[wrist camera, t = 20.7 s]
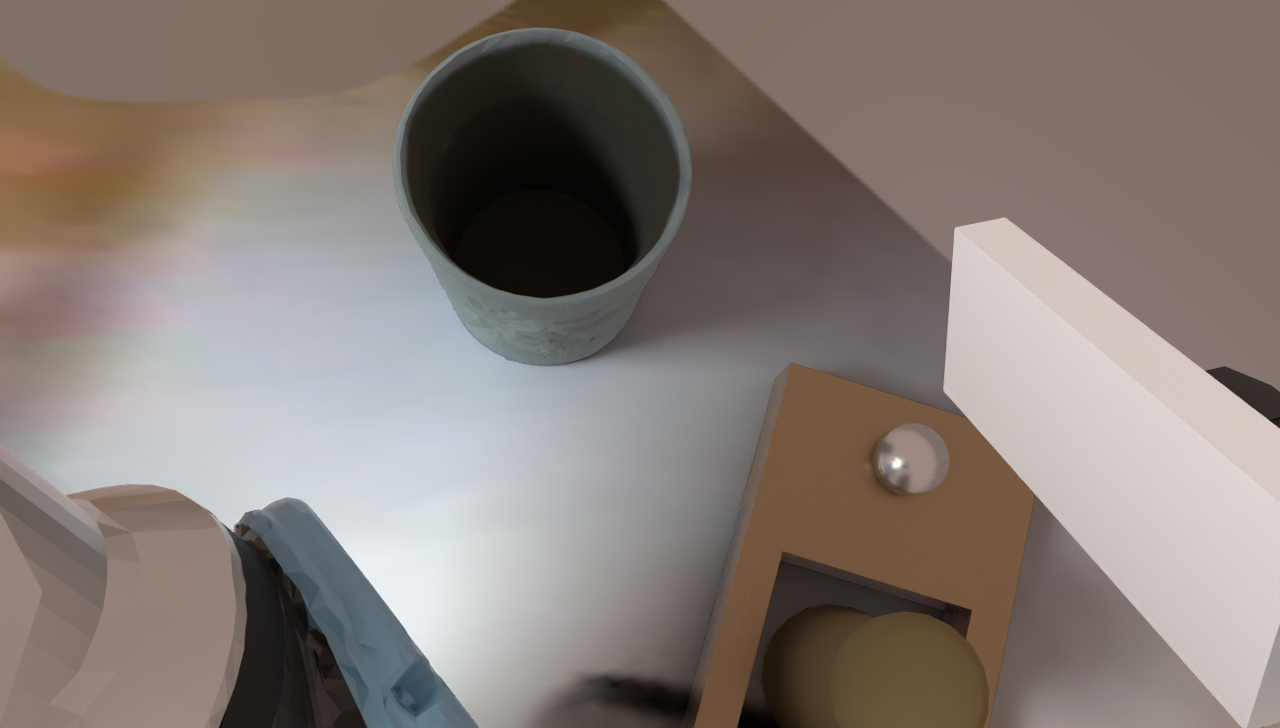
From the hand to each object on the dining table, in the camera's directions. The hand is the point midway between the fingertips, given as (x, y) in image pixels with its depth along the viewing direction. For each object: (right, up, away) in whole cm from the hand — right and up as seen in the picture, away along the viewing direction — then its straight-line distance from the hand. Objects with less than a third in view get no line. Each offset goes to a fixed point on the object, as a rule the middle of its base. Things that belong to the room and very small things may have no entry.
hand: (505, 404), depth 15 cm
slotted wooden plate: (+10, -12, +31) cm, 35 cm away
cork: (+10, -13, +31) cm, 35 cm away
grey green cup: (-3, +5, +34) cm, 34 cm away
